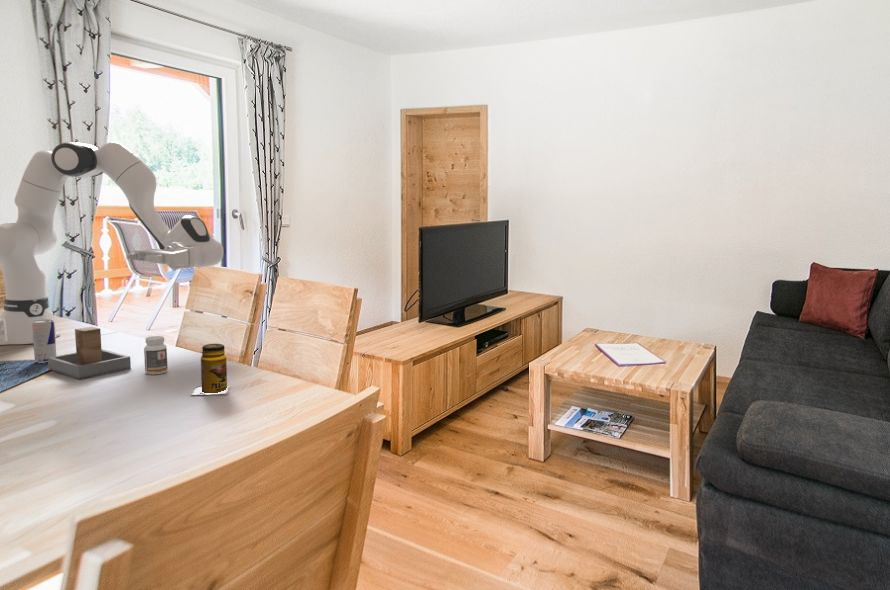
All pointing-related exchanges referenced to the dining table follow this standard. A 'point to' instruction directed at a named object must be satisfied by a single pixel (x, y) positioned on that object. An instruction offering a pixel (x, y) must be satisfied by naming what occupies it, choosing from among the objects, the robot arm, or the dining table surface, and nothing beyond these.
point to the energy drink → (44, 340)
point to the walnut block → (88, 345)
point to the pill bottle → (155, 355)
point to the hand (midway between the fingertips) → (136, 258)
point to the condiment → (213, 368)
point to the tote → (89, 365)
